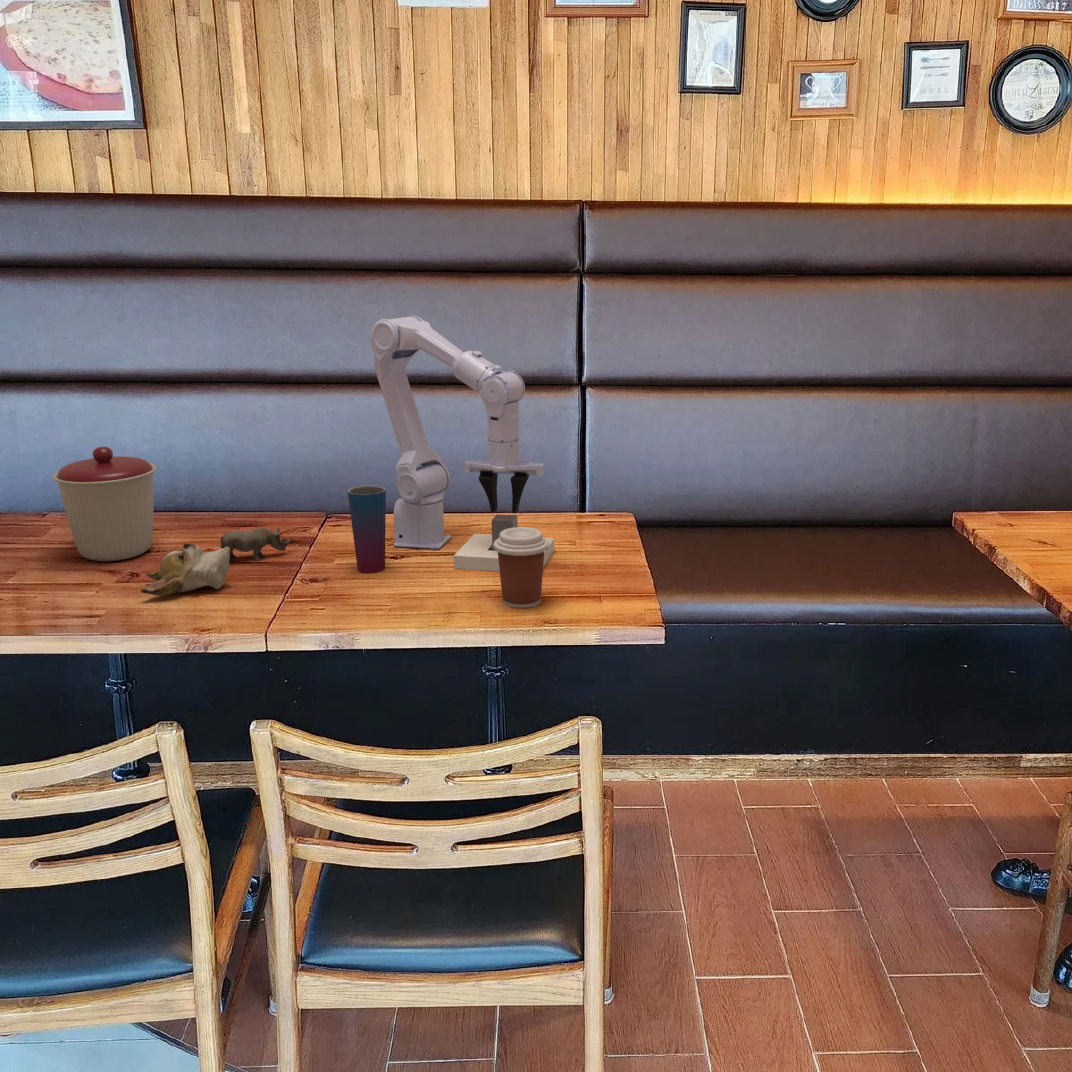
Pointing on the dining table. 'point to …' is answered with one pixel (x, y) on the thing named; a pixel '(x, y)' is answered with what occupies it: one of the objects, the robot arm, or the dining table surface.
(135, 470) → the canister
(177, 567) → the ceramic sculpture
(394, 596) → the dining table surface
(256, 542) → the rhino figurine
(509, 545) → the coffee cup
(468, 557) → the socket plate
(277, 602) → the dining table surface
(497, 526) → the plug
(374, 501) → the cup
